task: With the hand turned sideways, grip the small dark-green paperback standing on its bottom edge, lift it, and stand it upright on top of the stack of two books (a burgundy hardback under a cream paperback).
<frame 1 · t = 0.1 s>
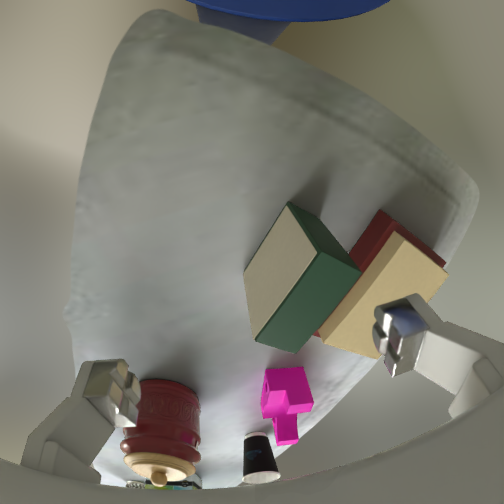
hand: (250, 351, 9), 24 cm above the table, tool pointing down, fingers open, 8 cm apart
book: (281, 245, 35), on the table
dixie cup: (255, 435, 56), on the table
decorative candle: (137, 483, 73), on the table
book stack: (372, 283, 39), on the table
kitchen canister: (164, 397, 47), on the table
tea box: (174, 474, 67), on the table
toy block: (278, 392, 49), on the table
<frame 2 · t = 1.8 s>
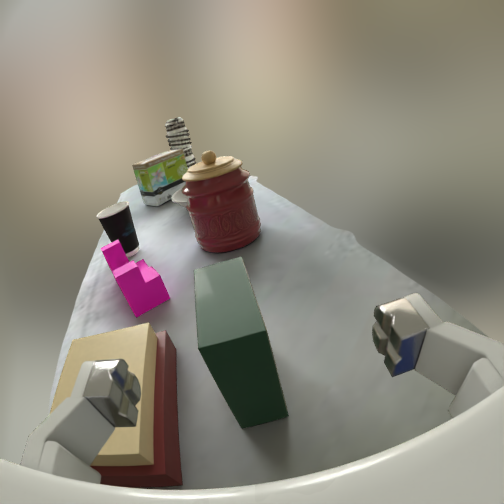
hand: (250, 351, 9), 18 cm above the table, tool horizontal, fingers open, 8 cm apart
book: (254, 383, 28), on the table
dixie cup: (130, 253, 63), on the table
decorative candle: (189, 177, 116), on the table
book stack: (124, 416, 26), on the table
kitchen canister: (230, 237, 59), on the table
dish: (202, 207, 79), on the table
tea box: (169, 197, 96), on the table
toy block: (140, 289, 49), on the table
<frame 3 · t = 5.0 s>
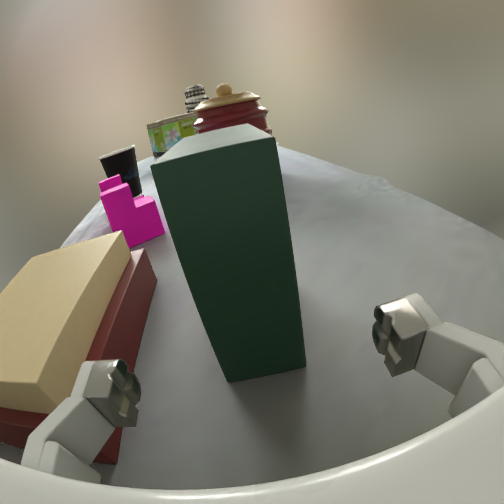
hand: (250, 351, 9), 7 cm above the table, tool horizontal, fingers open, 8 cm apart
book: (256, 318, 20), on the table
dixie cup: (131, 201, 57), on the table
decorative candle: (207, 146, 109), on the table
book stack: (70, 356, 19), on the table
kitchen canister: (243, 183, 51), on the table
tea box: (183, 160, 89), on the table
toy block: (135, 228, 42), on the table
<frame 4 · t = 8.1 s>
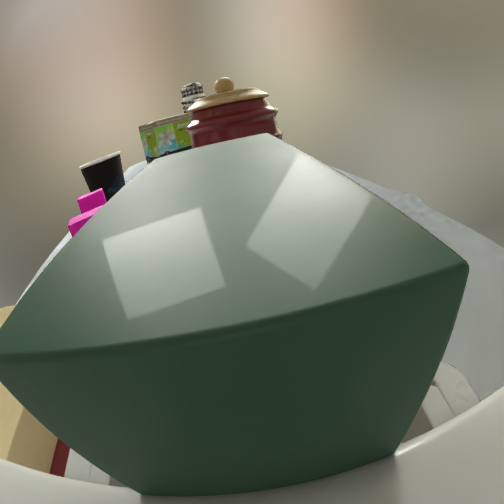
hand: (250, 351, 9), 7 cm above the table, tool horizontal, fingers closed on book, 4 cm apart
book: (276, 435, 12), on the table, touching gripper
dixie cup: (118, 217, 49), on the table
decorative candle: (205, 150, 101), on the table
book stack: (35, 450, 11), on the table
kitchen canister: (247, 197, 43), on the table
tea box: (179, 166, 81), on the table
toy block: (119, 256, 34), on the table
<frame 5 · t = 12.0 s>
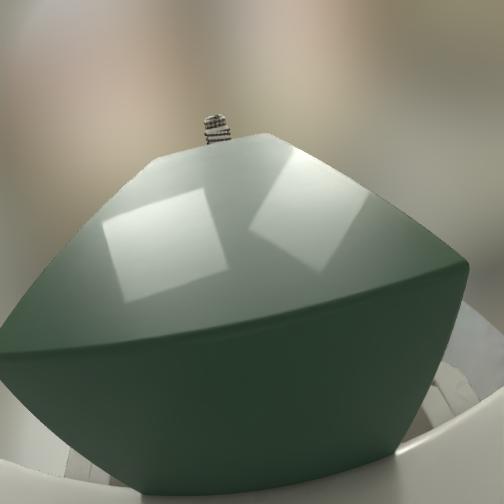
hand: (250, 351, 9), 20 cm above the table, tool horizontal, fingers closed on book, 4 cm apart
book: (277, 435, 12), point 14 cm above the table, touching gripper
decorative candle: (228, 181, 107), on the table
when the fingers open (13 cm above the table, at t = 16.0 s): book stays where it is, resting on book stack.
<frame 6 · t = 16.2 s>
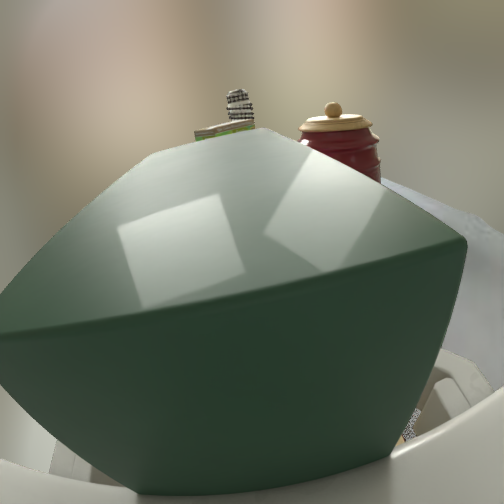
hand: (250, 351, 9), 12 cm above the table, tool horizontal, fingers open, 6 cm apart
book: (274, 433, 12), point 6 cm above the table, touching book stack
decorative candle: (249, 155, 105), on the table
kitchen canister: (343, 212, 46), on the table
tea box: (233, 172, 85), on the table
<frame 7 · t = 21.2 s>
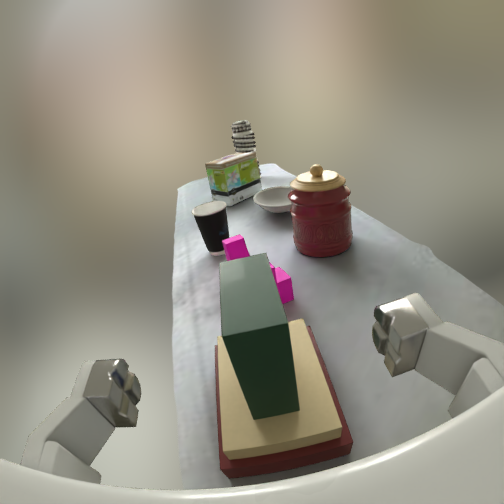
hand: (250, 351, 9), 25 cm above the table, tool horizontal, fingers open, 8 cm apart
book: (269, 377, 29), point 6 cm above the table, touching book stack
dixie cup: (220, 251, 70), on the table
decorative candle: (251, 179, 122), on the table
book stack: (276, 404, 32), on the table
kitchen canister: (323, 244, 64), on the table
dish: (281, 212, 84), on the table
tea box: (238, 198, 102), on the table
toy block: (259, 285, 55), on the table
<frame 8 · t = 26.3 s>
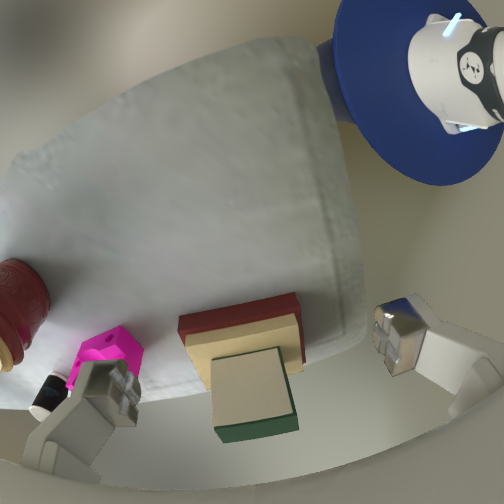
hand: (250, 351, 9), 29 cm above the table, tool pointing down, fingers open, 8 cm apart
book: (248, 362, 42), point 6 cm above the table, touching book stack
dixie cup: (59, 378, 50), on the table
book stack: (244, 334, 47), on the table
kitchen canister: (22, 289, 39), on the table
toy block: (103, 348, 46), on the table
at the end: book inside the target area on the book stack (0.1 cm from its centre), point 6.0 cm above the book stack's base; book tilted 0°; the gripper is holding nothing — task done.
